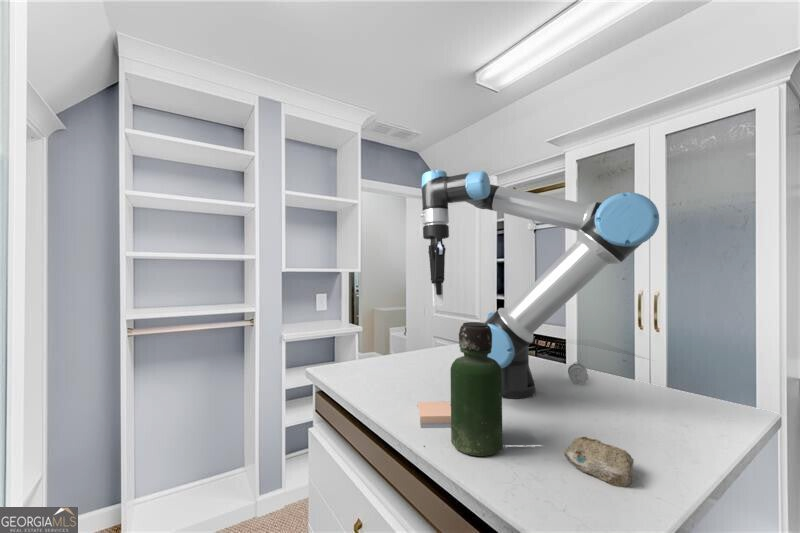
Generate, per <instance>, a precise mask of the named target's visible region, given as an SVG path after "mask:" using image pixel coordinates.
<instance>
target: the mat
mask: <svg viewBox="0 0 800 533" xmlns="http://www.w3.org/2000/svg"><path fill="white" fill-rule="evenodd" d="M450 405H451V403H450ZM417 406H418V403H417ZM419 424H420V423H419ZM420 429H451V424H420Z"/></svg>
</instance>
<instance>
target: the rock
mask: <svg viewBox="0 0 800 533" xmlns="http://www.w3.org/2000/svg"><path fill="white" fill-rule="evenodd" d="M563 454H564V456H565V458H566V460H567V461H568V463H570V464H571V465H573V467H575V469H576V470H579V471H580V472H582V473H586V474H589V475H592V476H594V477H596V478H598V479H599V480H601V481H604V482H606V483H609V484H611V485H613V486H616V487H627V486H628V485H630V484H631V483H632V482H633V472H632V471H633V464H634V461H635V460H634V458H632V455H631V454H630V453H629V452H628V451H627V450H626V449H622V448H619V447H617V446H614V445H611V444H606V443H604V442H602V441H601V440H598V439H595V438H591V437H587V436H583V437H582V436H578V437H577V438H574V440H573V441H572V442H571V443H570V445H569V446H568V447H567V448H566V449H565V450H563Z"/></svg>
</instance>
